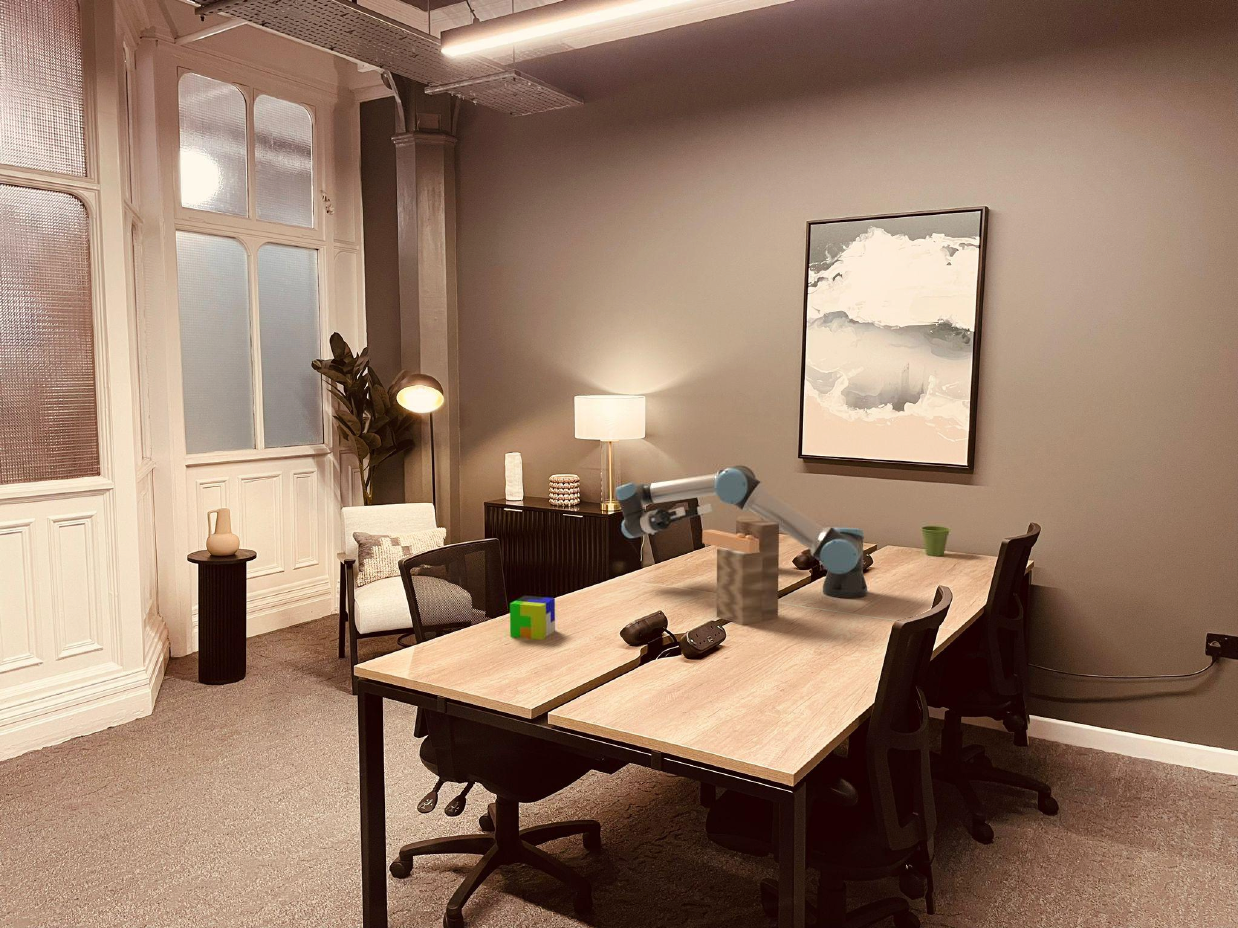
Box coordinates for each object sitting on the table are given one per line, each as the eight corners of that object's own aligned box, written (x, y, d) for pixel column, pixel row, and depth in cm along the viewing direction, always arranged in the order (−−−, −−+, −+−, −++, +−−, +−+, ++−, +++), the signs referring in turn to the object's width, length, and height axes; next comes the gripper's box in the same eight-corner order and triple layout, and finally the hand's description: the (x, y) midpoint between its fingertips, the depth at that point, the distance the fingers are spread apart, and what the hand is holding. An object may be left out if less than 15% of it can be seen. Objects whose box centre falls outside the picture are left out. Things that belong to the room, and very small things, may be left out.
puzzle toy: (555, 630, 278) (554, 598, 277) (541, 639, 269) (541, 606, 268) (524, 627, 281) (524, 595, 280) (510, 636, 272) (509, 603, 271)
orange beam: (702, 542, 299) (702, 527, 299) (711, 541, 302) (711, 526, 301) (749, 553, 281) (749, 537, 281) (758, 552, 284) (759, 536, 283)
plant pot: (915, 552, 393) (915, 526, 392) (941, 551, 394) (942, 525, 393) (927, 558, 381) (928, 531, 380) (954, 557, 382) (955, 530, 381)
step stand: (716, 616, 293) (717, 522, 290) (751, 609, 301) (752, 518, 298) (742, 625, 283) (743, 528, 280) (777, 617, 291) (779, 523, 288)
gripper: (683, 527, 334) (725, 516, 318) (632, 535, 317) (674, 523, 301) (678, 507, 335) (720, 495, 319) (627, 513, 318) (669, 501, 302)
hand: (698, 508), depth 310 cm, fingers open, 13 cm apart
